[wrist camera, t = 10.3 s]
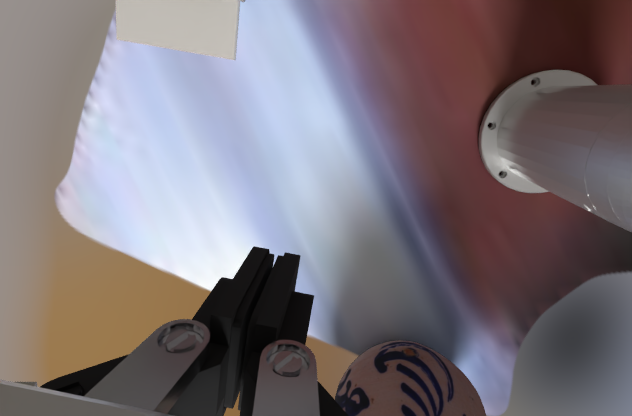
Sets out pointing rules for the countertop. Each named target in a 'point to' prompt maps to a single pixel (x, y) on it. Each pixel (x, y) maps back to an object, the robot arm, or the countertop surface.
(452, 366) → the ceramic pitcher
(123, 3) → the mat
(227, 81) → the countertop surface
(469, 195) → the countertop surface
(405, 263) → the countertop surface
